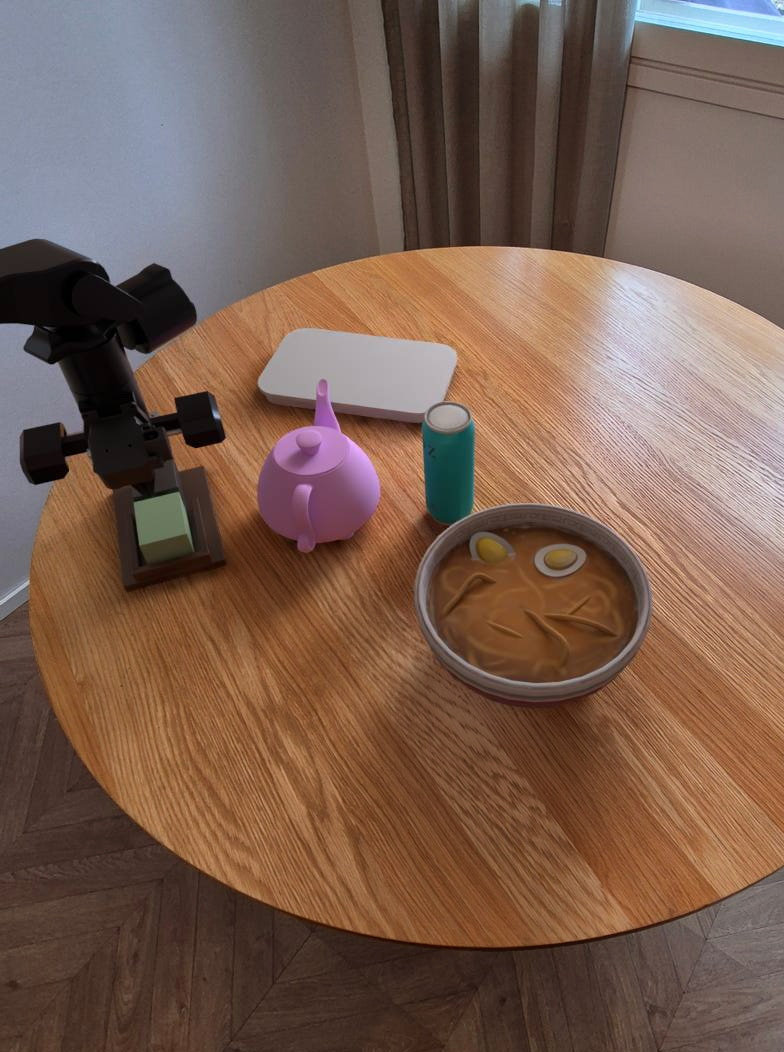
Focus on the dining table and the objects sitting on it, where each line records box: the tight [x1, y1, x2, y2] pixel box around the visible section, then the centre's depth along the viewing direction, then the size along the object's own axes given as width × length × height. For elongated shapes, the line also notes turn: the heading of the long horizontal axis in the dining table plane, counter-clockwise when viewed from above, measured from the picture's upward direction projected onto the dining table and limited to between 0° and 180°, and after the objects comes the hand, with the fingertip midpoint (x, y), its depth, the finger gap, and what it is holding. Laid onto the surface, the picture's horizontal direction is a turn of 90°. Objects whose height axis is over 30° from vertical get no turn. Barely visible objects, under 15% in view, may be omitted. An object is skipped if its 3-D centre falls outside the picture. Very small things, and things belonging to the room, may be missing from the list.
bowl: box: [413, 502, 654, 710], centre depth 79 cm, size 23×23×10 cm
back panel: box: [112, 456, 228, 593], centre depth 91 cm, size 11×17×5 cm, turn 21°
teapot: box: [256, 379, 381, 554], centre depth 91 cm, size 20×14×12 cm
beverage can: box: [421, 400, 476, 527], centre depth 90 cm, size 6×6×15 cm
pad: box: [134, 492, 195, 565], centre depth 89 cm, size 5×7×4 cm
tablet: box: [257, 327, 459, 424], centre depth 112 cm, size 16×26×2 cm, turn 79°
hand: (149, 495), depth 85 cm, fingers closed
